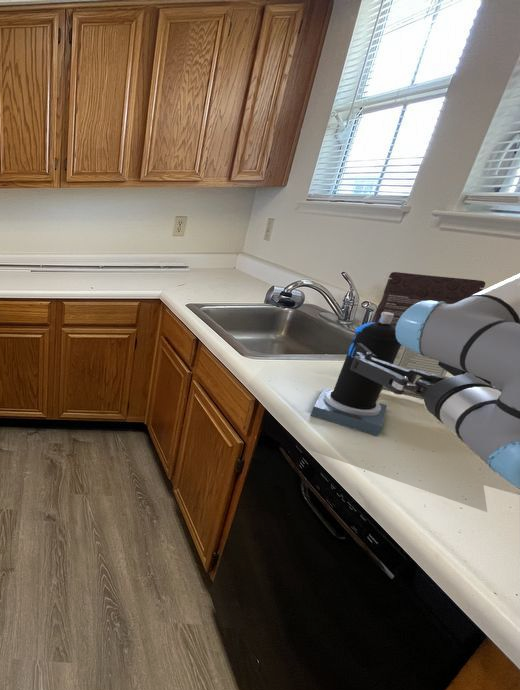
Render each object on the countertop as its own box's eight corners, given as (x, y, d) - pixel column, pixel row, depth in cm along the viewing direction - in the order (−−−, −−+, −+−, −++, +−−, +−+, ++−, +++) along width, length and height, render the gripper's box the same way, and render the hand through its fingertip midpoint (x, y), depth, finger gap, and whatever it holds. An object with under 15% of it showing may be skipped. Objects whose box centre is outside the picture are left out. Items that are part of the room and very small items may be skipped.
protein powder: (430, 389, 104) (485, 277, 92) (435, 403, 98) (495, 285, 86) (349, 372, 113) (390, 268, 101) (349, 384, 106) (392, 274, 94)
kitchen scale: (383, 414, 93) (389, 401, 92) (378, 436, 85) (384, 422, 84) (320, 396, 101) (324, 384, 99) (310, 415, 92) (315, 402, 91)
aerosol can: (374, 398, 93) (411, 311, 84) (377, 413, 87) (418, 322, 78) (330, 388, 97) (361, 305, 88) (330, 402, 91) (363, 314, 82)
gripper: (360, 417, 65) (316, 363, 83) (568, 445, 58) (472, 380, 76) (378, 373, 61) (329, 328, 80) (601, 398, 55) (492, 342, 73)
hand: (398, 353), depth 78 cm, fingers open, 13 cm apart
